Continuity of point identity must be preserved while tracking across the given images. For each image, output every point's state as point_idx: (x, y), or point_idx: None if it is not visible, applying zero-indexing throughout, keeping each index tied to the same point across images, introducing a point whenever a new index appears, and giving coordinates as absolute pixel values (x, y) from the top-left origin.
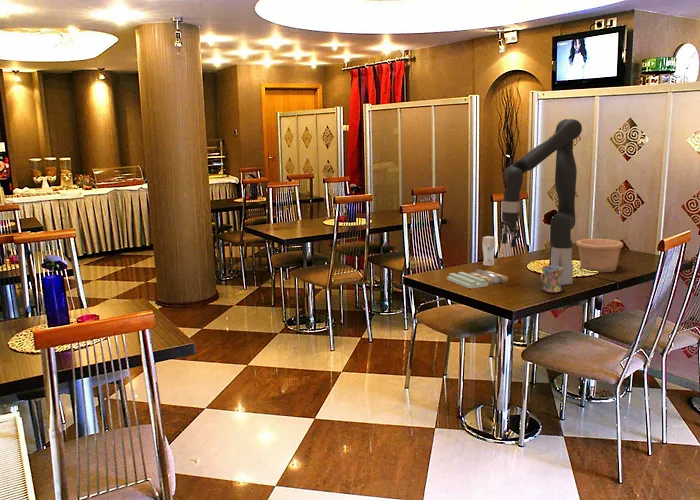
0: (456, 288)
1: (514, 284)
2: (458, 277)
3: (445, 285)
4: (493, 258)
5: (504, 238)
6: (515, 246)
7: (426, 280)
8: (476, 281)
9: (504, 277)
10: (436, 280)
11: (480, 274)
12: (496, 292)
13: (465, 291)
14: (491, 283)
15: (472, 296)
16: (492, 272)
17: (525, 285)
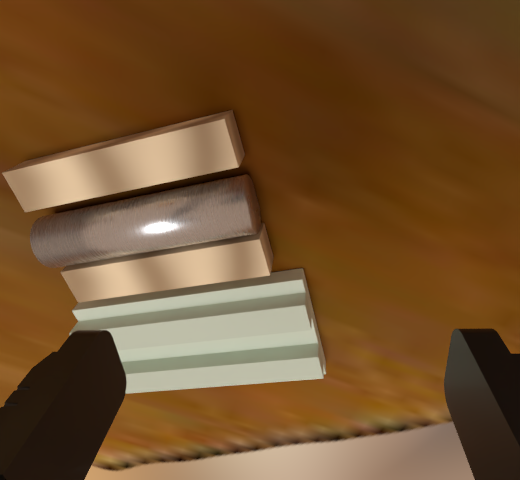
0: (299, 400)
1: (314, 89)
2: (192, 385)
3: (232, 414)
4: None
5: (70, 460)
6: (496, 338)
7: (132, 437)
8: (318, 357)
9: (232, 148)
10: (136, 412)
11: (115, 257)
12: (458, 283)
13: (367, 391)
14: (266, 237)
15: None
16: (66, 167)
17: (374, 11)
